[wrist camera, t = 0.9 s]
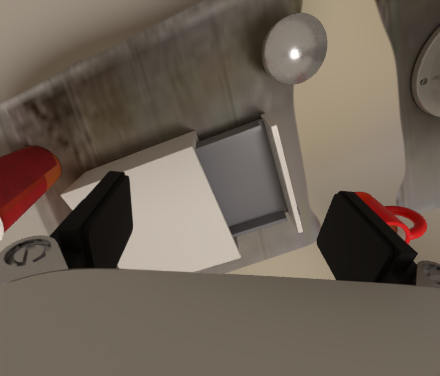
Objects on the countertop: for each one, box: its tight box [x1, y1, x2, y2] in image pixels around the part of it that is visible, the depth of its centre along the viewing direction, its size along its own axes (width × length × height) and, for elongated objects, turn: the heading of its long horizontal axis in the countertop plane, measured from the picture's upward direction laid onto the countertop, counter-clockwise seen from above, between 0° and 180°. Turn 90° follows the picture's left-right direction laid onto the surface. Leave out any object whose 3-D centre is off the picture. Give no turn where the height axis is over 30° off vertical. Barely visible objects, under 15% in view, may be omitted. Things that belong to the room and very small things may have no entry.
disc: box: [261, 13, 327, 84], centre depth 24 cm, size 6×6×2 cm
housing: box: [61, 131, 241, 272], centre depth 34 cm, size 17×18×7 cm
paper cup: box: [0, 146, 62, 241], centre depth 27 cm, size 8×8×14 cm
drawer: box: [195, 114, 303, 237], centre depth 33 cm, size 17×16×6 cm
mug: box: [354, 192, 427, 244], centre depth 36 cm, size 8×12×8 cm, turn 105°
